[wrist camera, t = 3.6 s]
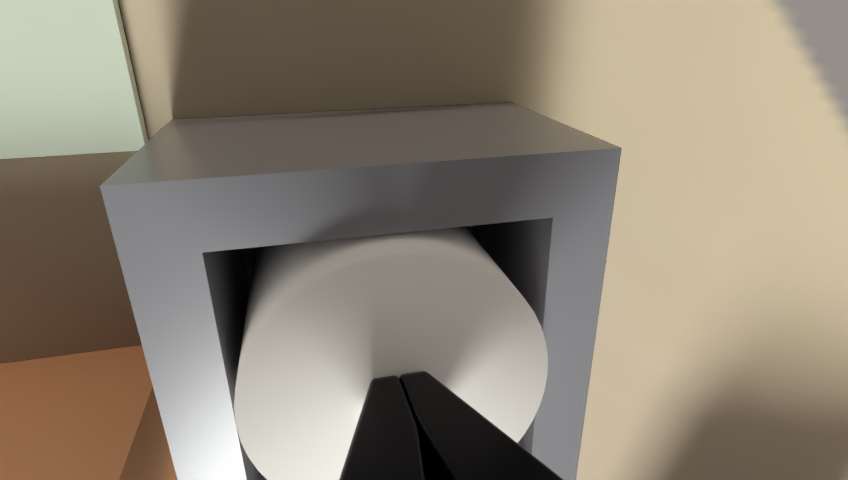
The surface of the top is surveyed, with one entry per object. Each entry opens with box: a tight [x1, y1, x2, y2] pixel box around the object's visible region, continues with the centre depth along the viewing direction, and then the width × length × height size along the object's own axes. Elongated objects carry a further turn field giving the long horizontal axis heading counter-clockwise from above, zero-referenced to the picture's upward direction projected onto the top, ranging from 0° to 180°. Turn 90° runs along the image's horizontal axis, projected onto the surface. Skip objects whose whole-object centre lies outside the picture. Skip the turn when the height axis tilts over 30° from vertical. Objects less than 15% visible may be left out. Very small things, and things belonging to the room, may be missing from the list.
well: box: [100, 102, 621, 480], centre depth 10 cm, size 7×7×4 cm
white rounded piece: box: [234, 226, 548, 480], centre depth 10 cm, size 5×5×4 cm
